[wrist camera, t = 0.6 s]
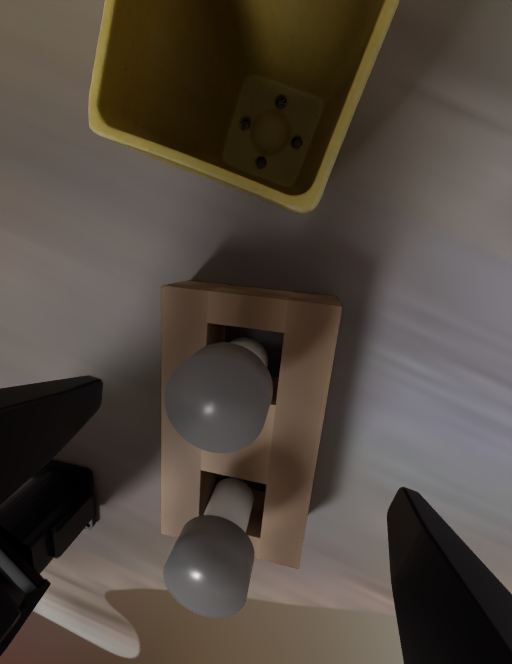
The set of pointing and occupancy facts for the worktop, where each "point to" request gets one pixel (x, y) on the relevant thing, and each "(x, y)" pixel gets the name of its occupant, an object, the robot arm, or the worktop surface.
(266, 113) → the flower pot
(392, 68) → the worktop surface
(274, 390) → the mount
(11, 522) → the robot arm
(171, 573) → the knob
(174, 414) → the knob
